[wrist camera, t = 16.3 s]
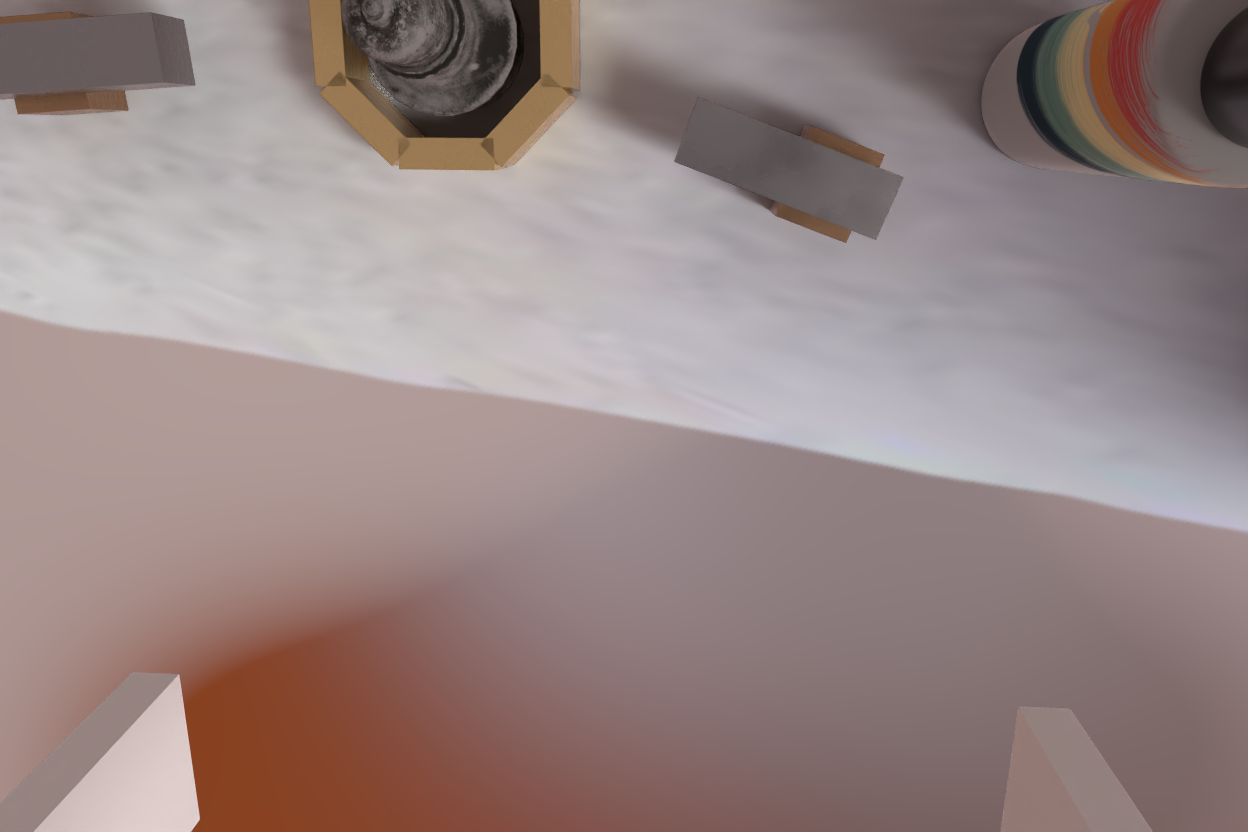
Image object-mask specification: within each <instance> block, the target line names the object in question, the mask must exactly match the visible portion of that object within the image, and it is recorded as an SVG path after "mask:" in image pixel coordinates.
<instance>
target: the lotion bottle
mask: <svg viewBox="0 0 1248 832" xmlns="http://www.w3.org/2000/svg"><path fill="white" fill-rule="evenodd" d="M981 108H982V116H983V120H984V124H985V127H986V129H987V132H988V134H989V136H990V137H991V139H992V140H993V142H994V143H995V144H996V146H997V147H998V148H999V149H1000V150H1001V151H1002V152H1003V153H1004V154H1006V155H1007V156H1008V157H1010V158H1012V159H1013V160H1015V161H1017V162H1019V163H1022V164H1025V165H1028V166H1031V167H1036V168H1041V169H1048V170H1057V171H1066V172H1076V173H1085V174H1095V175H1105V176H1115V177H1124V178H1134V179H1144V180H1154V181H1163V182H1173V183H1183V184H1193V185H1203V186H1214V187H1228V188H1248V0H1111V1H1108V2H1104V3H1101V4H1098V5H1095V6H1091V7H1088V8H1085V9H1082V10H1078V11H1075V12H1072V13H1069V14H1065V15H1062V16H1059V17H1056V18H1053V19H1050V20H1047V21H1044V22H1042V23H1039V24H1037V25H1034V26H1032V27H1030V28H1029V29H1027V30H1025V31H1023V32H1022V33H1020V34H1019V35H1017V36H1016V37H1015V38H1013V39H1012V40H1011V41H1010V42H1009V43H1008V44H1007V45H1006V46H1005V47H1004V48H1003V49H1002V50H1001V51H1000V53H999V54H998V55H997V57H996V58H995V60H994V61H993V63H992V65H991V67H990V69H989V71H988V73H987V75H986V78H985V81H984V85H983V90H982V97H981Z"/></svg>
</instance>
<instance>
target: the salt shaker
mask: <svg viewBox="0 0 1248 832" xmlns="http://www.w3.org/2000/svg"><path fill="white" fill-rule="evenodd" d="M341 12H342V21H343V24H344V28H345V31H346V33H347V34H348V36H349V38H350V39H351V41H352V42H353V44H354V45H355V46H356V47H357V48H358V49H359V50H360V51H361V52H362V53H364V54H366V55H367V58H368V61H369V64H370V67H371V68H372V70H373V72H374V73H375V75H376V77H377V78H378V80H379V82H380V83H381V85H382V86H383V87H384V88H385V89H386V90H387V91H388V92H389V93H390V94H391V95H392V96H393V97H394V98H395V99H396V100H398V101H399V102H401V103H403V104H404V105H406V106H408V107H409V108H411V109H413V110H415V111H419V112H422V113H426V114H429V115H433V116H454V115H458V114H462V113H465V112H469V111H472V110H474V109H476V108H478V107H481V106H485V105H487V104H489V103H491V102H492V101H494V100H496V99H497V98H499V97H500V96H501V95H502V94H503V93H504V92H505V91H506V90H507V89H508V88H509V87H510V86H511V84H512V83H513V81H514V79H515V77H516V75H517V73H518V71H519V69H520V66H521V61H522V57H523V52H524V43H523V31H522V27H521V23H520V19H519V16H518V14H517V12H516V10H515V9H514V7H513V5H512V3H511V1H510V0H342V6H341Z"/></svg>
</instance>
